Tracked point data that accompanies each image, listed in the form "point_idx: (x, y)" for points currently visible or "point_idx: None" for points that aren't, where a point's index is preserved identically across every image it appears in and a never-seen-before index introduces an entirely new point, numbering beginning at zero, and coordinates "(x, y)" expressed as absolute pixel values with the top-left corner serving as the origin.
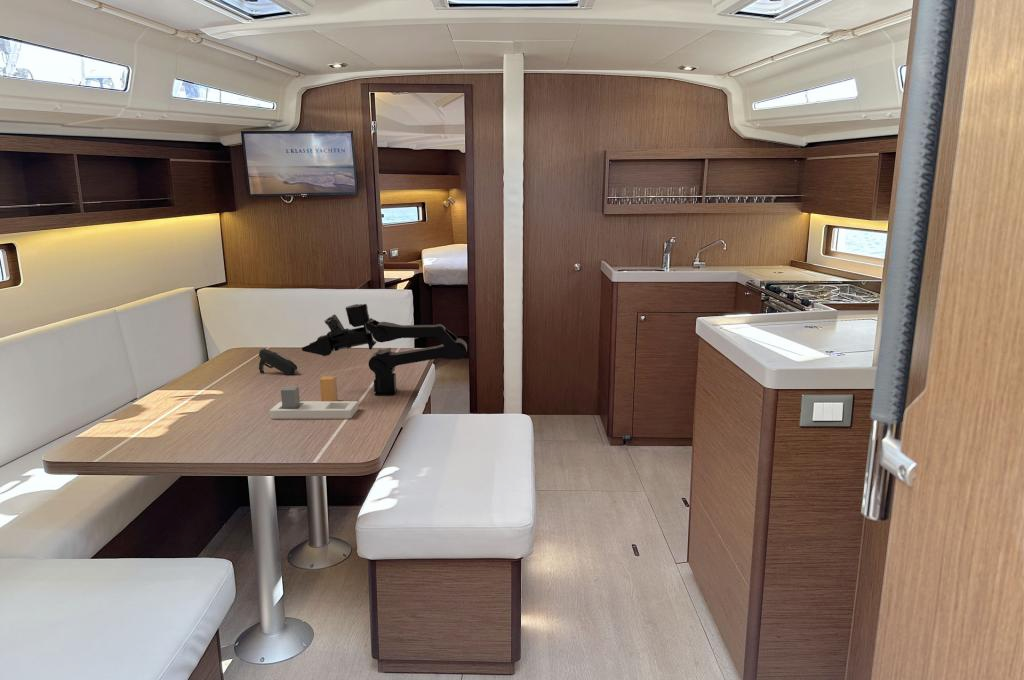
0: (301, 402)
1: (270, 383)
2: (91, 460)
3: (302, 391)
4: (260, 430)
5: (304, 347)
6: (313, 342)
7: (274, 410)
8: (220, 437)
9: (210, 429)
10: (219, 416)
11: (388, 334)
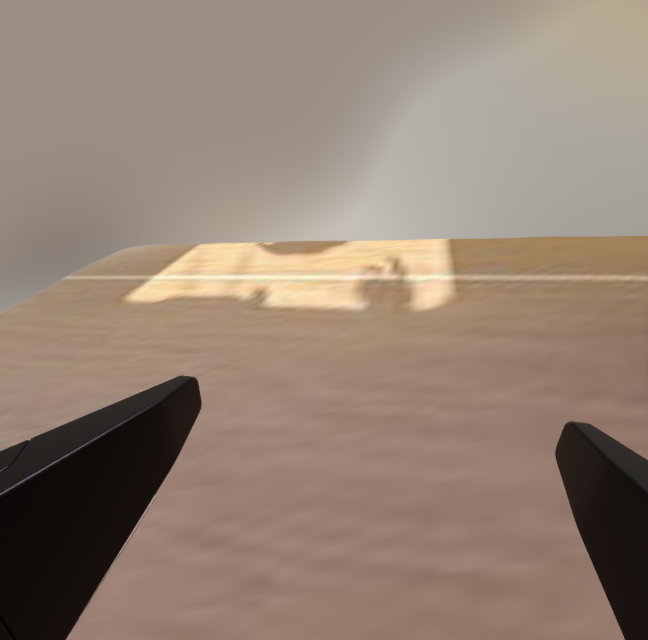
0: None
1: (565, 390)
2: (74, 274)
3: (448, 561)
4: None
5: (150, 396)
6: (607, 463)
7: None
8: (3, 385)
9: (94, 355)
10: (194, 347)
11: None
